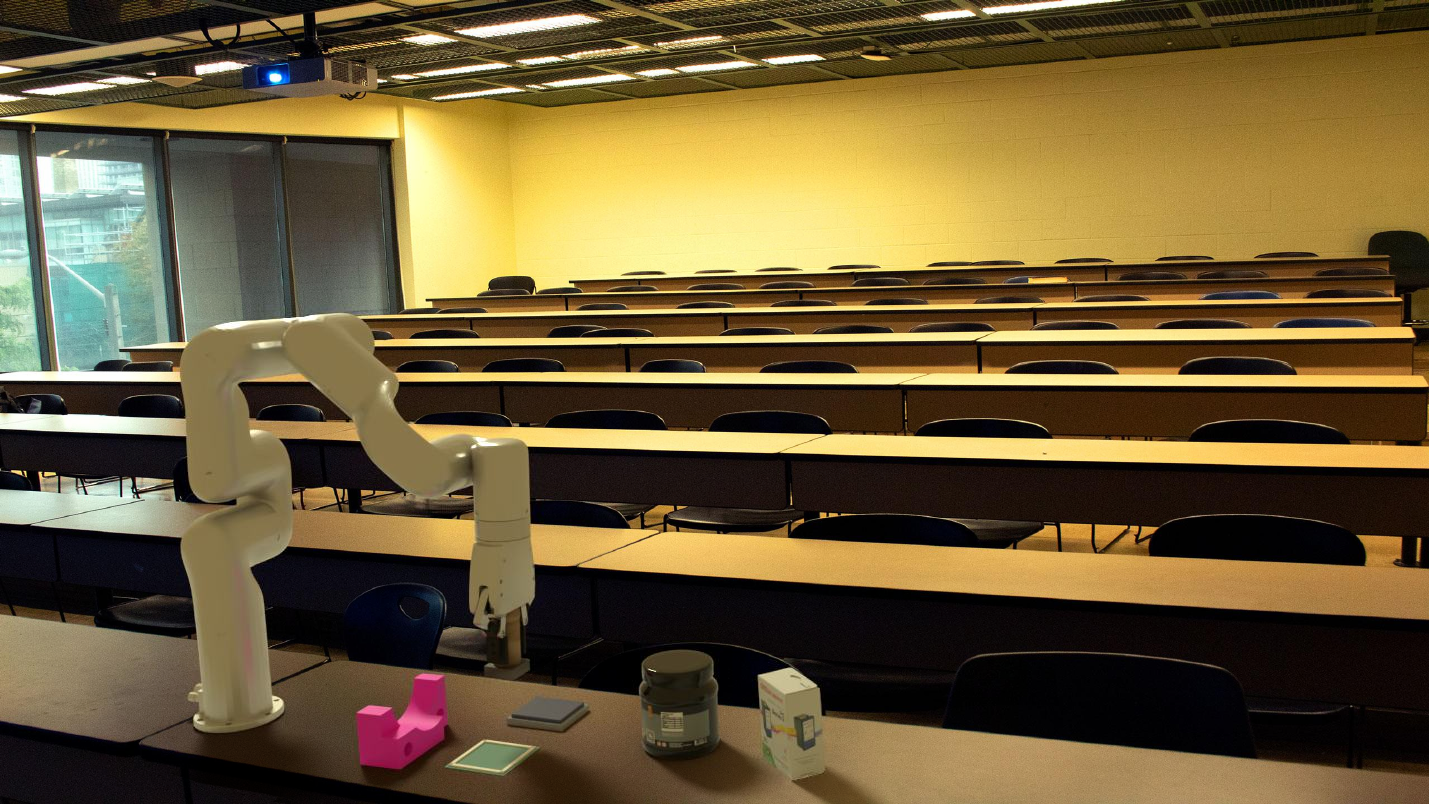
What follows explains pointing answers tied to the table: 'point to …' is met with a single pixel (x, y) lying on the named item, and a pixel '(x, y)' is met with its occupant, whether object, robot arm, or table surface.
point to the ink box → (791, 723)
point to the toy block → (404, 726)
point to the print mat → (492, 757)
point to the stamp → (510, 651)
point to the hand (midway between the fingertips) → (506, 656)
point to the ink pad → (548, 713)
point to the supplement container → (679, 705)
